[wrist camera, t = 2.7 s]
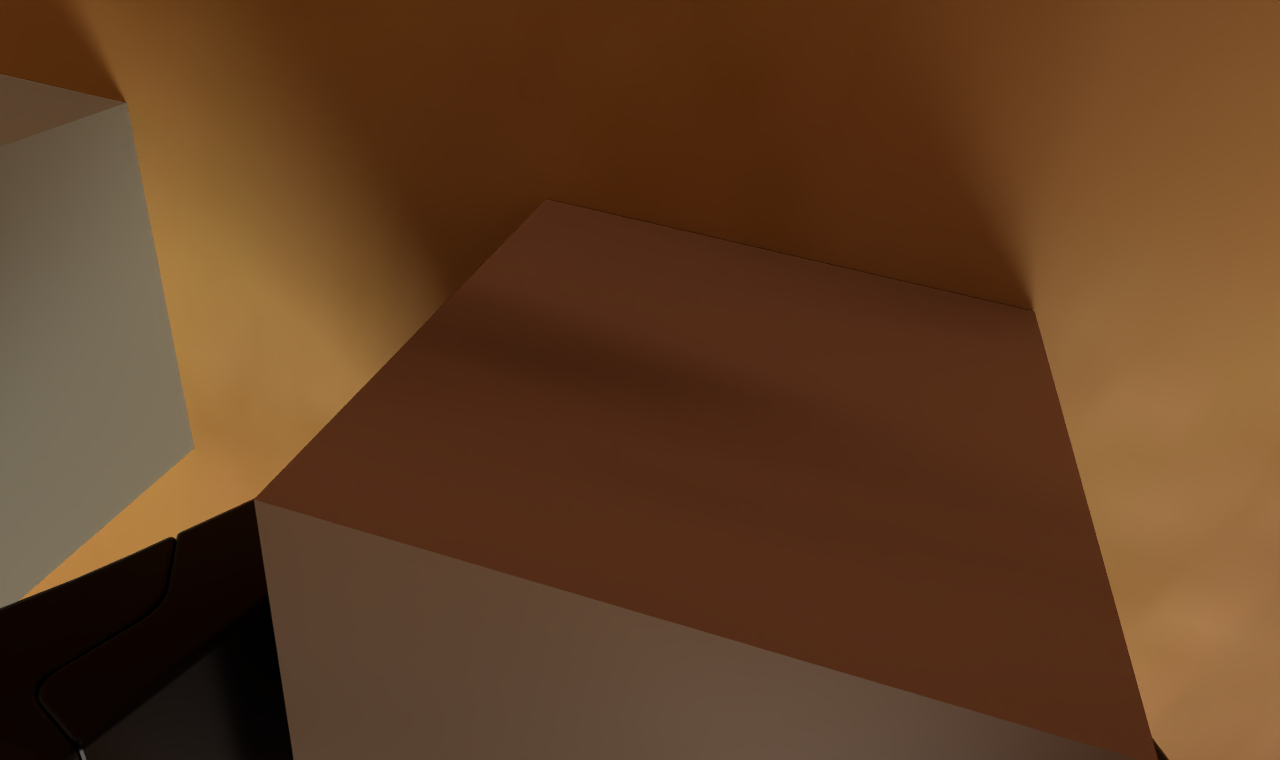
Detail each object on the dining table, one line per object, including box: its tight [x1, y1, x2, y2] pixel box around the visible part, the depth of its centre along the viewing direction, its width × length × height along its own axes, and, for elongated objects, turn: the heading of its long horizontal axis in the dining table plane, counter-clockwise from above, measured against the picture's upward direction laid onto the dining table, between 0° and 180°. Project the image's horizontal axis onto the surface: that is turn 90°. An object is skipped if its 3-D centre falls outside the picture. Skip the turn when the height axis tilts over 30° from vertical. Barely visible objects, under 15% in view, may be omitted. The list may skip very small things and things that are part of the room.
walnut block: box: [254, 199, 1158, 760], centre depth 8 cm, size 5×5×5 cm
